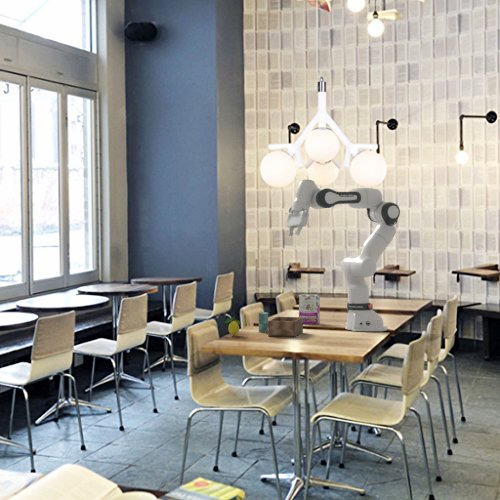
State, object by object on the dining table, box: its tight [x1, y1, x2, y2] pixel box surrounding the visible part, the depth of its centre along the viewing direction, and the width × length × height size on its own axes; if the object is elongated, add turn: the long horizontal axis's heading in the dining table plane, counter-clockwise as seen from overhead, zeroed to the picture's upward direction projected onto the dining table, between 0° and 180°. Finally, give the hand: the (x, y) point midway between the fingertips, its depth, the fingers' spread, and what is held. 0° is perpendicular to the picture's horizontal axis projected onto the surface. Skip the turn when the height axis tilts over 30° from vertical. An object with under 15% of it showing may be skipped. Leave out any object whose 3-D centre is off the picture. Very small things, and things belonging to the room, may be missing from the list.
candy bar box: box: [298, 294, 321, 325], centre depth 451 cm, size 11×5×16 cm, turn 68°
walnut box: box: [267, 316, 304, 338], centre depth 412 cm, size 14×17×8 cm
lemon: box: [224, 317, 242, 337], centre depth 409 cm, size 7×6×10 cm
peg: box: [258, 311, 269, 333], centre depth 422 cm, size 4×4×10 cm
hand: (293, 235), depth 412 cm, fingers open, 8 cm apart
